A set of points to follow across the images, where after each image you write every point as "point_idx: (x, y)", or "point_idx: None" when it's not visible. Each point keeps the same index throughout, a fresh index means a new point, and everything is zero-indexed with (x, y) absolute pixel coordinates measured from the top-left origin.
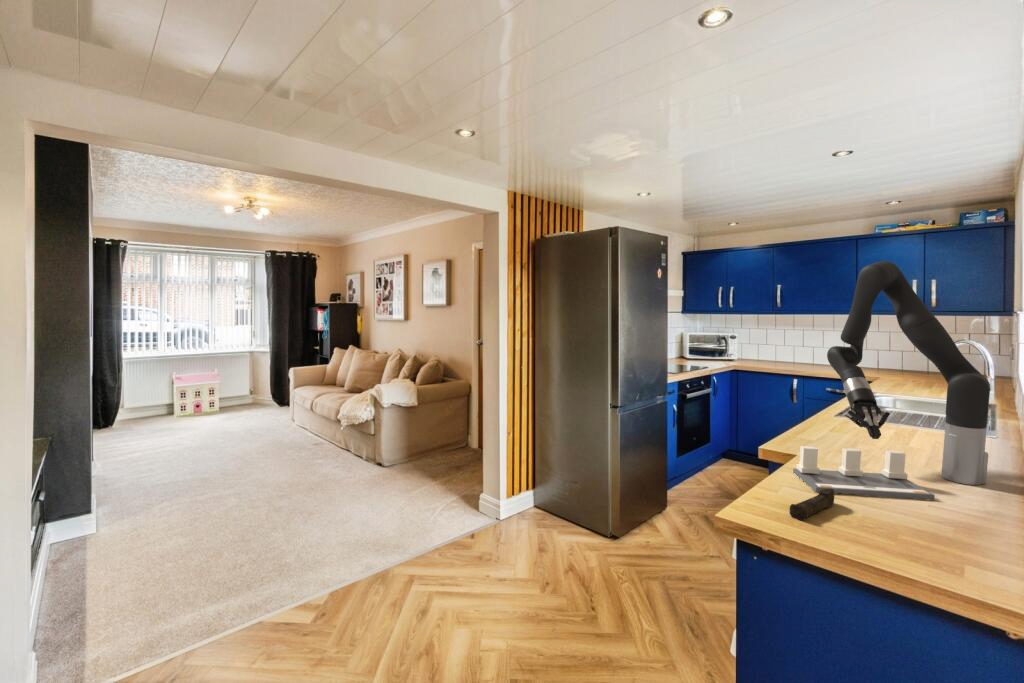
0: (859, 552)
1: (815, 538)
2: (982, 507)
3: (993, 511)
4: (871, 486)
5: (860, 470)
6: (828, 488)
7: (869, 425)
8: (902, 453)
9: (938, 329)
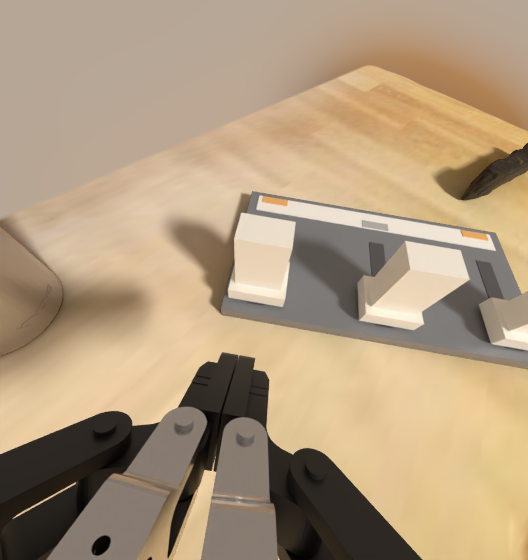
0: (461, 111)
1: (504, 131)
2: (185, 174)
3: (184, 162)
4: (365, 232)
5: (367, 283)
6: (497, 172)
7: (260, 431)
8: (252, 214)
9: None
